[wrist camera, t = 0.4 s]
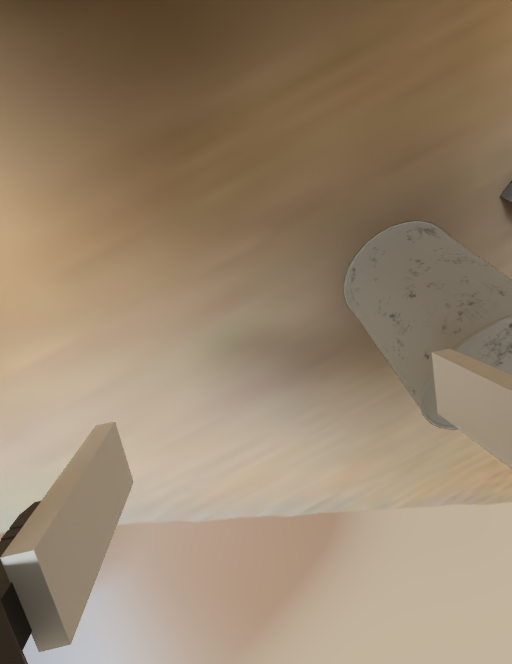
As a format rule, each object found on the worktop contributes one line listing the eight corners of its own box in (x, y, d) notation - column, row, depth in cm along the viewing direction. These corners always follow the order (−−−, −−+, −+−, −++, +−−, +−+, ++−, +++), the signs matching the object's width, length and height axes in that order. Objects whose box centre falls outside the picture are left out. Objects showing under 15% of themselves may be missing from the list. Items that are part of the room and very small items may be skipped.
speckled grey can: (473, 250, 32) (606, 342, 22) (397, 333, 36) (482, 440, 27) (397, 199, 28) (521, 286, 18) (321, 300, 32) (389, 413, 22)
